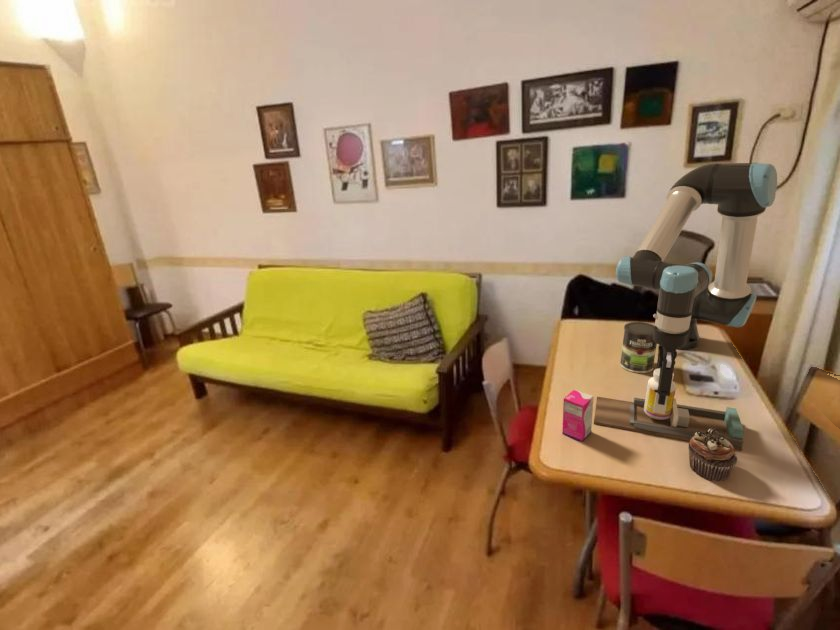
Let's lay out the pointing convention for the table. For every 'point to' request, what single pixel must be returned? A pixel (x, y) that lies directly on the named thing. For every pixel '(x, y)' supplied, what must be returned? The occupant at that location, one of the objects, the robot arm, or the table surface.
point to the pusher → (679, 416)
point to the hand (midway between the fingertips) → (658, 404)
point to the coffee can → (638, 347)
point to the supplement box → (577, 415)
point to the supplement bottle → (651, 396)
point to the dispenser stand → (639, 421)
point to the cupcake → (711, 455)
